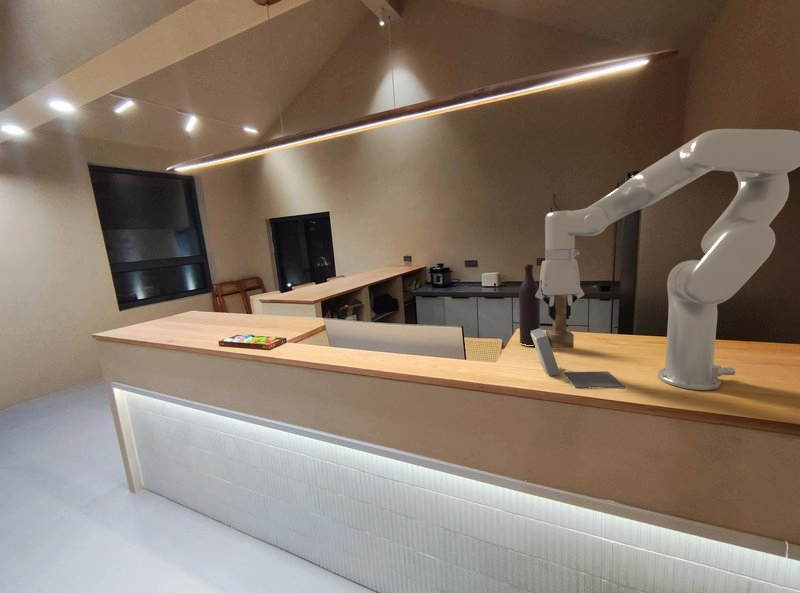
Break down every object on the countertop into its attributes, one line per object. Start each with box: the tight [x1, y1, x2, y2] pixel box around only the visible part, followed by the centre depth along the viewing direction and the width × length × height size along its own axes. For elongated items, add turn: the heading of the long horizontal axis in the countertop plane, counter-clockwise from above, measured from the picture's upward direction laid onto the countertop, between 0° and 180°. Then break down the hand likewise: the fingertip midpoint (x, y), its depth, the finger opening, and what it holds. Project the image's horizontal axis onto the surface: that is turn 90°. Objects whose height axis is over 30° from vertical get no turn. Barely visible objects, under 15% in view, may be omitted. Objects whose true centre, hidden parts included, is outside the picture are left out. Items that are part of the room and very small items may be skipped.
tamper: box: [545, 295, 575, 349], centre depth 101 cm, size 6×6×16 cm
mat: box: [563, 370, 626, 389], centre depth 95 cm, size 12×10×1 cm
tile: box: [531, 327, 561, 377], centre depth 103 cm, size 3×8×12 cm, turn 171°
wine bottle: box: [518, 263, 541, 345], centre depth 126 cm, size 7×7×30 cm
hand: (559, 317), depth 100 cm, fingers closed on tamper, 3 cm apart
